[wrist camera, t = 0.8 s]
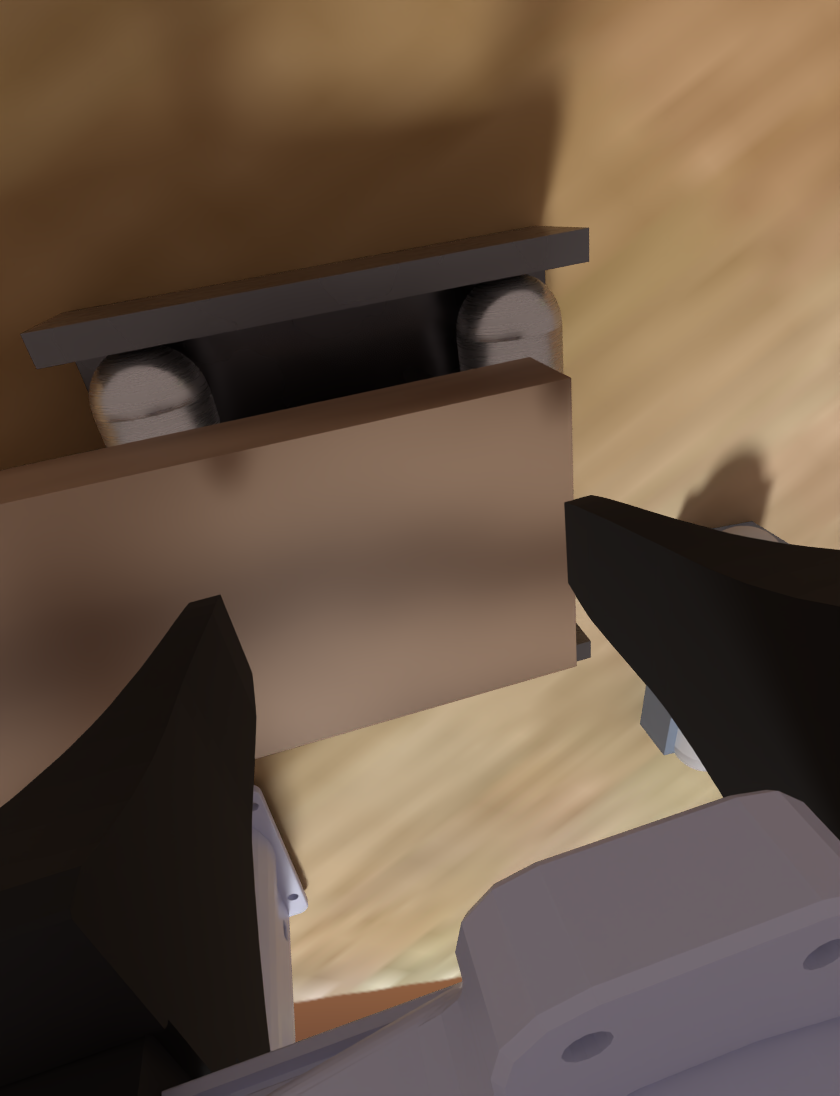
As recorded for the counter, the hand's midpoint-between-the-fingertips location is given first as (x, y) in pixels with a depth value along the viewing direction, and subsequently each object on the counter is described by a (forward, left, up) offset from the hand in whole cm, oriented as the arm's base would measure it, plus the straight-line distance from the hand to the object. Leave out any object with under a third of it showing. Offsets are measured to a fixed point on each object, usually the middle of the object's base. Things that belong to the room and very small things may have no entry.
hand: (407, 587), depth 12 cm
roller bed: (-2, 0, -9) cm, 10 cm away
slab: (-2, +4, -5) cm, 7 cm away
